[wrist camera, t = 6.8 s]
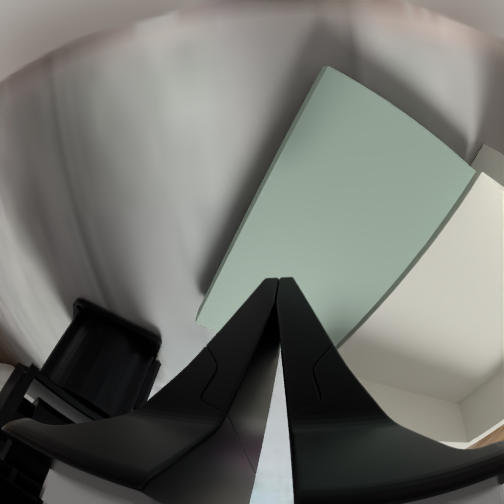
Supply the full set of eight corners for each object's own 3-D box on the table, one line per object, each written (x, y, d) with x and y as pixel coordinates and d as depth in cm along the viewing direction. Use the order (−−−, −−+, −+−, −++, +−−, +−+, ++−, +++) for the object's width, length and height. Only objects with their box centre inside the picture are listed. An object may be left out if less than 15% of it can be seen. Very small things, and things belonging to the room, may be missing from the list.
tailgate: (317, 349, 18) (198, 310, 16) (464, 163, 11) (323, 65, 9) (318, 362, 17) (194, 323, 16) (475, 171, 10) (328, 65, 9)
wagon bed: (299, 373, 19) (297, 440, 15) (495, 122, 10) (568, 156, 5) (442, 409, 21) (452, 455, 17) (589, 260, 12) (623, 302, 7)
